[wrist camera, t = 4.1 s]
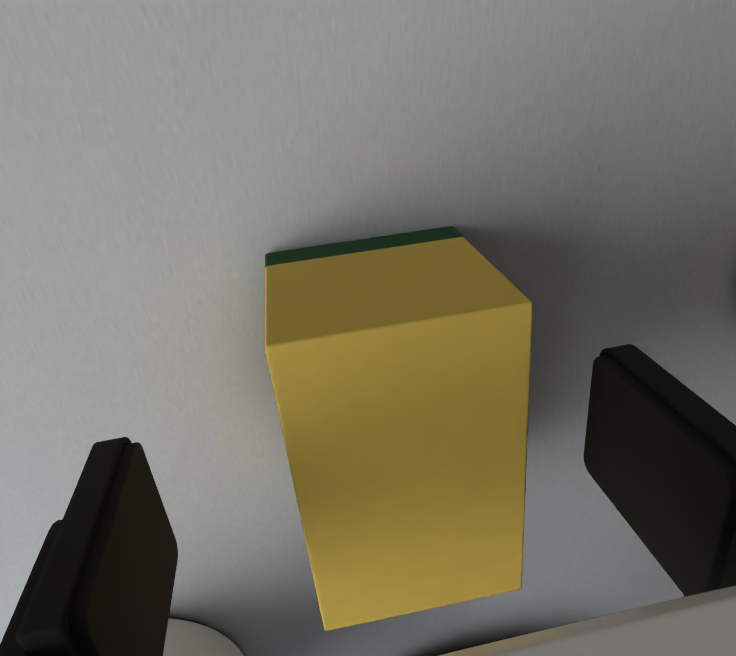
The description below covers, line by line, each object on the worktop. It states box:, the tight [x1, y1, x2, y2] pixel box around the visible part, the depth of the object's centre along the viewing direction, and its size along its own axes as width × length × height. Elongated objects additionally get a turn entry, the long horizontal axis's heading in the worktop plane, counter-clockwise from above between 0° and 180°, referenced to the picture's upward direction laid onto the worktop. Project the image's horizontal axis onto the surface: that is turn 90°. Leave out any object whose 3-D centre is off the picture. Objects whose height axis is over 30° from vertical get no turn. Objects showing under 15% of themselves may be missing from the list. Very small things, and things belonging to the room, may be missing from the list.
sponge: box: [265, 226, 533, 631], centre depth 13 cm, size 7×4×4 cm, turn 6°
